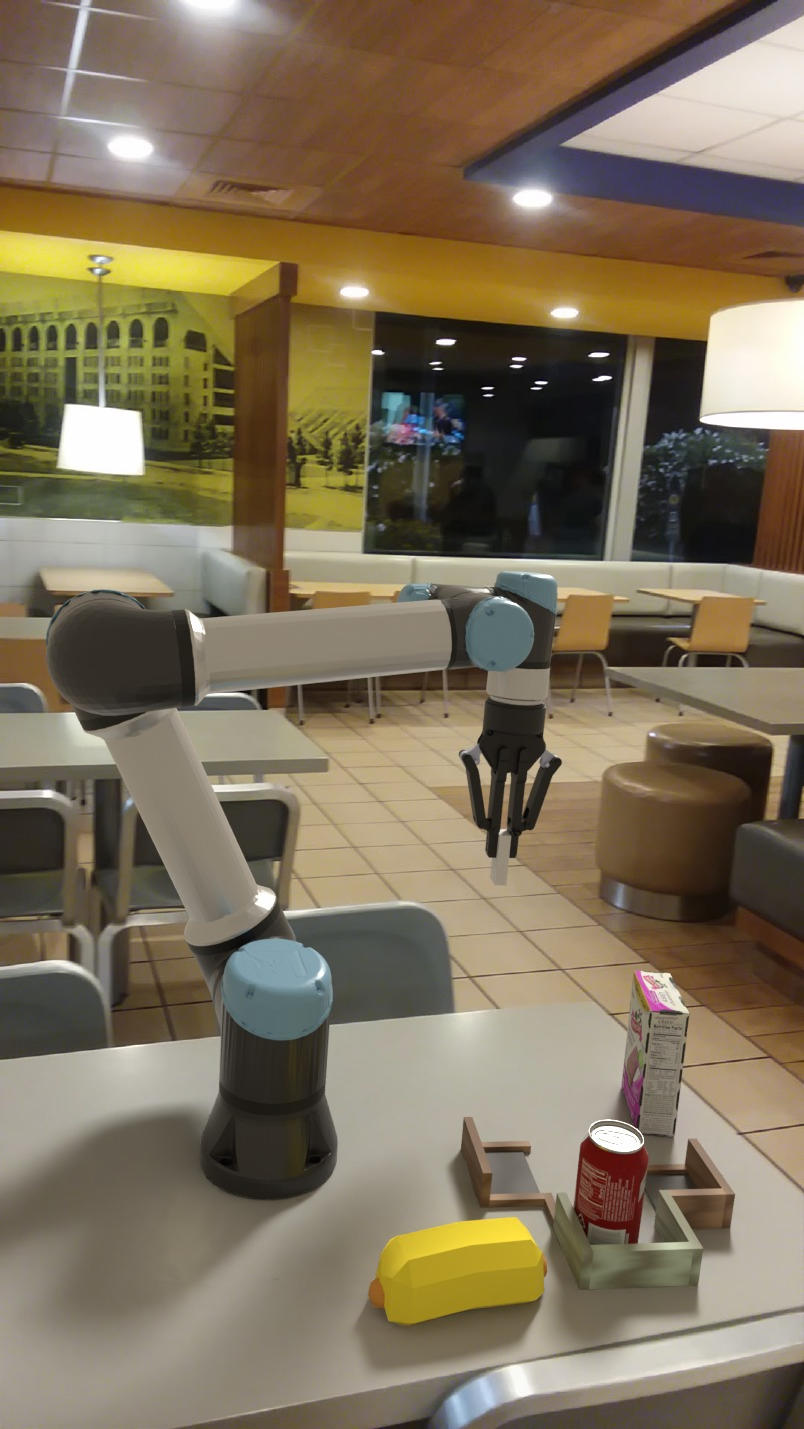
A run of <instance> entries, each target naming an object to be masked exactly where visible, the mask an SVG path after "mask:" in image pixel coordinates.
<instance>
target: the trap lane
mask: <svg viewBox="0 0 804 1429" xmlns="http://www.w3.org/2000/svg"><path fill="white" fill-rule="evenodd" d="M460 1149H461V1153H462V1156H463V1160H464V1162H465V1165H466V1168H467V1172H468V1175H469V1178H470V1181H471V1183H472V1187H473V1190H474V1193H475V1196H476V1199H477V1202H478V1205H479V1208H497V1207H498V1208H501V1207H503V1208H505V1207H535V1206H544V1209H545V1211H546V1214H547V1217H548V1218H549V1221H550V1223H551V1226H552V1228H553V1230H554V1233H555V1235H556V1238H557V1240H558V1243H559V1246H560V1247H561V1250H562V1252H563V1255H564V1256H565V1259H566V1261H567V1262H566V1263H567V1264H568V1266H569V1269H570V1272H571V1274H572V1276H573V1278H574V1280H575V1284H576V1285H577V1288H578V1290H583V1291H584V1290H604V1289H606V1290H609V1289H630V1288H634V1289H635V1288H654V1287H655V1288H656V1287H678V1286H679V1287H680V1286H683V1287H684V1286H698V1285H699V1281H700V1275H701V1266H702V1261H703V1255H704V1254H703V1252H704V1248H703V1246H702V1244H701V1243H700V1242H701V1241H699V1239H698V1237H697V1236H696V1234H695V1233H694V1230H713V1229H715V1230H716V1229H717V1230H718V1229H731V1225H732V1218H733V1212H734V1206H735V1205H734V1204H735V1198H736V1193H735V1191H734V1190H733V1189H732V1187H731V1186H730V1184H729V1183H728V1181H727V1180H726V1178H725V1177H724V1176H723V1174H722V1173H721V1172H720V1170H719V1169H718V1167H717V1165H716V1164H715V1163H714V1162H713V1160H712V1159H711V1157H710V1156H709V1154H708V1153H707V1151H706V1150H705V1149H704V1147H703V1146H702V1144H701V1143H700V1142H699V1140H698V1138H688V1139H687V1146H686V1153H685V1160H684V1163H671V1164H670V1163H669V1164H665V1163H664V1164H648V1168H647V1176H646V1183H645V1191H644V1193H645V1195H646V1196H647V1197H648V1199H649V1201H650V1203H651V1204H652V1206H653V1209H654V1210H655V1216H654V1224H653V1225H654V1226H655V1228H656V1229H657V1231H658V1233H659V1235H660V1236H661V1238H662V1241H663V1242H648V1243H647V1242H645V1243H643V1242H641V1243H639V1242H638V1244H609V1245H590V1244H589V1241H588V1239H587V1237H586V1235H585V1233H584V1230H583V1228H582V1226H581V1224H580V1222H579V1219H578V1217H577V1215H576V1213H575V1210H574V1208H573V1204H572V1202H571V1199H570V1197H569V1195H568V1193H567V1192H556V1198H554V1196H553V1193H552V1192H541V1191H540V1190H539V1187H538V1184H537V1181H536V1180H535V1177H534V1175H533V1172H532V1170H531V1168H530V1165H529V1162H528V1161H527V1158H526V1155H525V1154H524V1153H531V1151H532V1145H531V1142H530V1141H529V1140H516V1141H515V1140H513V1141H509V1140H507V1141H502V1140H501V1141H482V1139H481V1137H480V1135H479V1132H478V1129H477V1126H476V1123H475V1121H474V1118H473V1116H463V1122H462V1133H461V1145H460Z"/></svg>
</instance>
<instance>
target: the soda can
mask: <svg viewBox="0 0 804 1429" xmlns="http://www.w3.org/2000/svg"><path fill="white" fill-rule="evenodd" d="M587 1131H588V1132H587V1134H586V1135H585V1136H584V1138H582V1140H581V1142H580V1144H579V1145H580V1146H579V1152H578V1153H579V1154H578V1163H577V1170H576V1171H577V1173H576V1180H575V1189H574V1197H573V1204H572V1206H573V1208H574V1210H575V1213H576V1215H577V1217H578V1219H579V1222H580V1224H581V1226H582V1228H583V1230H584V1233H585V1235H586V1237H587V1239H588V1241H589V1244H590V1245H609V1244H639V1238H640V1230H641V1222H642V1221H641V1220H642V1215H643V1206H644V1197H645V1183H646V1176H647V1168H648V1165H649V1158H650V1157H649V1153H648V1151H647V1149H646V1148H645V1145H644V1144H645V1138H644V1135H642V1134H641V1132H640V1131H639V1130H637V1129H636V1128H635V1126H633V1125H631V1124H629V1123H627V1122H624V1121H620V1120H617V1119H616V1120H615V1119H601V1120H598V1121H595V1122H593V1123H592V1124H590V1126H589V1128H588V1130H587Z"/></svg>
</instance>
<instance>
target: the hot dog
mask: <svg viewBox="0 0 804 1429" xmlns="http://www.w3.org/2000/svg"><path fill="white" fill-rule="evenodd" d="M547 1274H548V1264H547V1260H546V1256H545V1255H544V1253H543V1251H542V1250H541V1249H540V1248H539V1246H538V1245H537V1242H536V1241H535V1239H534V1238H533V1235H532V1234H531V1233H530V1231H529V1229H528V1228H527V1227H526V1226H525V1225H524V1223H523V1222H522V1221H521V1220H519V1218H517V1216H512V1217H511V1216H507V1217H498V1218H487V1219H484V1218H483V1219H475V1220H474V1219H473V1220H472V1219H471V1220H463V1221H461V1220H460V1221H456V1222H450V1223H447V1224H442V1225H438V1226H433V1227H429V1228H424V1229H421V1230H416V1231H413V1232H408V1233H404V1234H399V1235H396V1236H394V1237H392V1238H390V1239H389V1240H388V1242H387V1243H386V1245H385V1247H384V1248H383V1250H382V1251H381V1253H380V1256H379V1261H378V1265H377V1269H376V1272H375V1277H374V1279H373V1280H371V1281H370V1283H369V1288H368V1293H367V1296H368V1298H369V1301H370V1303H371V1305H372V1307H373V1308H377V1309H382V1310H385V1313H386V1316H387V1321H388V1322H391V1323H395V1324H398V1325H401V1326H405V1327H406V1326H411V1325H414V1324H418V1323H422V1322H427V1321H429V1320H430V1321H431V1320H434V1319H438V1318H441V1317H446V1316H450V1315H454V1314H457V1313H461V1312H465V1311H468V1310H470V1311H471V1310H477V1309H487V1308H496V1307H503V1306H510V1305H511V1306H514V1305H518V1304H519V1305H521V1304H526V1303H531V1302H535V1301H537V1300H538V1299H539V1298H540V1297H541V1296H542V1295H543V1293H545V1277H547Z"/></svg>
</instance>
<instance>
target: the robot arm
mask: <svg viewBox="0 0 804 1429" xmlns="http://www.w3.org/2000/svg"><path fill="white" fill-rule="evenodd" d="M493 584H494V585H493V586H484V587H480V586H470V585H469V586H467V585H458V584H457V585H456V584H441V583H432V582H426V583H407V584H406V585H404V586H403V587H402V589H401V590H400V591H399V594H398V596H397V599H396V602H389V603H377V604H364V605H354V606H353V605H351V606H341V607H340V606H338V607H327V608H316V609H313V608H312V609H303V610H302V609H301V610H292V611H289V610H288V611H280V612H279V611H278V612H266V613H265V612H263V613H252V614H241V615H230V616H229V615H228V616H217V617H216V616H215V617H205V618H204V617H203V618H201V617H198V616H196V614H194V613H192V612H191V610H189V609H187V608H183V609H173V610H164V609H163V610H160V609H159V610H158V609H146V608H145V606H144V605H143V604H142V603H141V602H139V601H138V600H137V599H136V598H135V597H134V596H133V597H132V596H131V595H129V594H127V593H124V592H122V591H119V590H114V589H104V588H103V589H102V588H101V589H92V590H88V591H85V592H82V593H78V594H77V595H76V596H74V597H72V598H70V599H68V600H67V601H65V602H64V603H63V604H62V605H60V607H59V608H57V610H56V611H55V613H54V614H53V616H52V617H51V619H50V621H49V624H48V627H47V630H46V636H45V637H46V638H45V644H46V645H45V646H46V649H45V651H46V653H45V661H46V667H47V672H48V675H49V677H50V681H52V684H53V686H54V687H55V689H56V690H57V692H58V693H59V695H60V696H61V697H62V698H63V699H64V700H65V701H67V703H69V704H70V705H71V707H72V710H73V712H74V713H75V715H76V718H77V720H78V722H79V724H80V726H81V728H82V730H83V732H84V733H85V734H89V735H91V736H94V737H98V738H100V739H102V740H103V741H104V743H105V745H106V747H107V749H108V751H109V753H110V756H111V757H112V759H113V761H114V763H115V765H116V767H117V770H118V772H119V775H120V776H121V778H122V780H123V782H124V784H125V787H126V789H127V790H128V792H129V794H130V796H131V798H132V801H133V803H134V805H135V808H136V809H137V811H138V812H139V815H140V817H141V820H142V821H143V823H144V824H143V825H145V828H146V829H147V832H148V834H149V836H150V838H151V841H152V843H153V844H154V846H155V849H156V851H157V852H158V855H159V857H160V859H161V861H162V863H163V865H164V867H165V869H166V871H167V873H168V875H169V878H170V879H171V882H172V883H173V884H172V885H173V886H174V888H175V890H176V892H177V894H178V896H179V898H180V900H181V903H182V904H183V907H184V908H185V910H186V912H187V913H186V914H187V915H188V917H189V918H188V921H187V923H186V925H185V928H184V931H183V935H184V936H183V937H184V938H185V941H186V943H187V945H188V947H189V949H190V952H191V953H192V956H193V958H194V960H195V962H196V964H197V966H198V968H199V970H200V972H201V974H202V976H203V979H204V981H205V984H206V985H207V988H208V990H209V992H210V993H209V994H210V996H211V997H210V998H211V999H212V1004H213V1007H214V1010H215V1014H216V1017H217V1021H218V1024H219V1030H220V1032H219V1033H220V1050H219V1051H220V1052H219V1053H220V1054H219V1078H218V1080H219V1082H218V1093H217V1096H216V1098H215V1100H214V1103H213V1106H212V1108H211V1111H210V1113H209V1116H208V1119H207V1120H206V1124H205V1126H204V1129H203V1131H202V1134H201V1138H200V1144H199V1145H200V1149H199V1164H200V1168H201V1170H202V1172H203V1173H204V1175H205V1177H206V1178H207V1179H208V1180H209V1181H210V1182H211V1183H212V1184H214V1185H215V1186H217V1187H218V1188H220V1189H222V1190H224V1192H225V1191H226V1192H228V1193H230V1194H233V1195H237V1196H239V1197H245V1198H249V1199H257V1200H277V1199H286V1198H290V1197H295V1196H299V1195H302V1194H305V1193H307V1192H310V1191H311V1190H313V1189H315V1188H317V1187H319V1186H321V1184H323V1183H324V1182H325V1181H326V1180H328V1179H329V1177H330V1176H331V1175H332V1173H333V1172H334V1171H335V1169H336V1166H337V1159H338V1145H339V1144H338V1143H339V1142H338V1135H337V1134H338V1133H337V1131H336V1128H335V1123H334V1120H333V1117H332V1113H331V1110H330V1106H329V1103H328V1100H327V1096H326V1086H327V1085H326V1084H327V1081H326V1079H327V1071H328V1069H327V1067H328V1057H329V1056H328V1054H329V1040H330V1038H329V1036H330V1022H331V1020H330V1019H331V1009H332V1006H333V1003H334V1002H333V1000H334V996H333V995H334V990H333V984H332V974H331V970H330V969H331V968H330V966H329V964H328V962H327V961H326V959H325V958H324V957H323V955H322V954H320V953H319V952H318V951H317V950H315V949H314V948H312V947H310V946H309V947H304V944H303V943H301V942H298V941H297V938H296V935H295V933H294V930H293V928H292V926H291V925H290V924H289V921H288V920H287V917H286V914H285V912H284V911H283V907H282V906H281V904H280V902H279V900H278V898H277V895H276V893H275V892H274V891H273V890H272V888H269V887H266V886H262V885H259V884H257V883H256V882H257V881H256V880H255V878H254V876H253V874H252V871H251V868H250V867H249V864H248V863H247V862H248V861H247V860H246V858H245V855H244V853H243V852H242V849H241V847H240V845H239V843H238V841H237V838H236V836H235V834H234V831H233V829H232V827H231V825H230V823H229V821H228V818H227V816H226V814H225V812H224V810H223V807H222V805H221V803H220V801H219V798H218V796H217V794H216V792H215V790H214V788H213V785H212V783H211V781H210V778H209V777H208V775H207V772H206V770H205V768H204V765H203V764H202V761H201V759H200V757H199V754H198V753H197V750H196V748H195V746H194V743H193V742H192V739H191V737H190V735H189V732H188V730H187V728H186V726H185V724H184V722H183V720H182V717H181V714H180V713H179V711H178V709H177V708H187V707H194V706H198V705H199V704H200V703H201V701H203V700H204V698H205V697H206V696H207V695H212V694H221V693H231V692H232V693H233V692H240V691H250V690H260V689H269V688H271V689H272V688H279V687H281V688H282V687H288V686H298V685H300V686H301V685H308V684H316V683H317V684H318V683H328V682H336V681H345V680H347V681H348V680H355V679H356V680H357V679H365V678H374V677H385V676H393V675H404V674H405V675H406V674H413V673H424V672H425V673H426V672H432V671H442V670H458V669H459V670H460V669H468V668H479V669H481V670H484V671H487V680H486V687H485V688H486V690H485V691H486V693H487V694H488V695H489V697H486V699H485V701H484V709H483V721H482V731H481V734H480V735H479V737H478V738H477V740H476V741H477V743H476V744H475V745H474V746H472V747H471V748H468V749H461V750H460V751H458V757H459V759H460V761H461V763H462V764H463V767H464V768H465V773H466V780H467V786H468V792H469V800H470V806H471V807H470V808H471V814H472V819H473V820H472V821H473V822H474V823H475V825H476V827H477V828H478V829H480V830H485V831H486V838H485V848H484V850H485V854H486V856H487V858H489V859H490V858H491V863H490V864H491V866H490V876H489V878H490V880H491V881H492V883H493V884H494V886H507V882H508V873H509V862H510V859H516V857H517V856H518V846H519V838H520V836H522V834H523V832H525V831H533V830H534V828H535V827H536V824H537V821H538V819H539V816H540V813H541V810H542V807H543V804H544V801H545V798H546V797H547V793H548V790H549V787H550V786H551V782H552V779H553V776H554V775H555V774H556V772H557V771H558V770H559V768H560V767H561V766H562V765H563V761H562V759H561V758H560V757H559V756H558V755H556V754H555V753H552V752H551V751H549V750H548V749H547V744H546V740H545V739H544V734H545V733H544V732H545V724H546V713H547V705H546V704H545V702H543V701H544V700H546V699H547V698H548V695H549V685H550V684H549V682H550V675H551V674H550V673H551V664H552V663H551V661H552V660H551V659H552V652H553V642H554V635H555V633H554V632H555V626H556V617H557V616H558V596H559V595H558V594H559V593H558V582H557V579H556V578H555V577H554V576H552V575H550V574H546V573H540V572H530V571H518V570H517V571H516V570H509V571H508V570H501V571H500V572H498V574H497V576H496V580H495V583H493ZM481 754H482V756H483V758H484V759H485V761H486V763H487V764H488V765H489V767H490V785H489V797H488V808H487V815H486V809H485V803H484V796H483V790H482V783H481V782H482V781H481V776H480V770H479V768H478V765H480V764H481ZM538 760H539V762H538V763H539V765H540V766H539V768H538V770H537V772H536V775H535V778H534V781H533V784H532V787H531V789H530V792H529V795H528V798H527V800H526V804H525V807H524V798H525V789H526V783H527V779H528V772H529V771H530V769H532V767H533V766H535V765H534V764H535V763H536V762H537V761H538ZM509 773H510V786H509V794H508V795H509V796H508V797H509V798H508V808H507V817H506V827H507V828H505V829H504V828H503V829H502V828H501V826H502V817H503V806H504V797H505V796H504V795H505V787H506V782H507V780H508V778H507V776H508V774H509ZM486 816H487V817H486Z"/></svg>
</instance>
